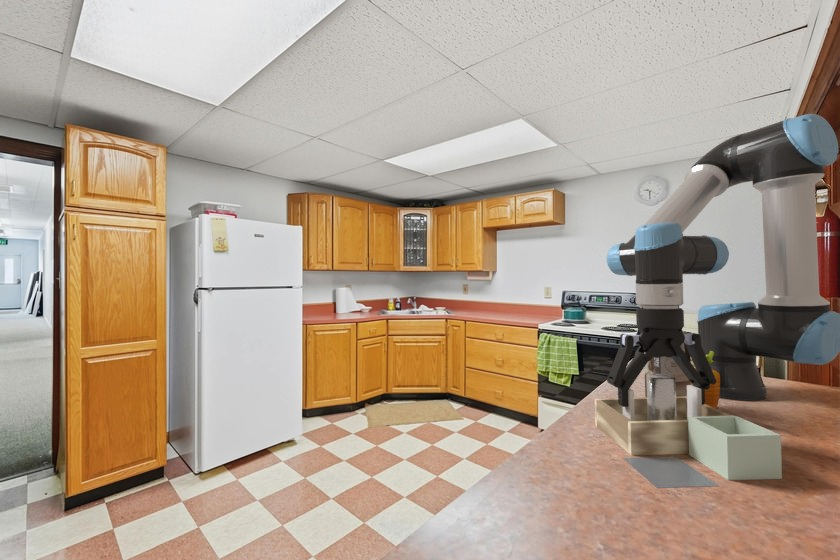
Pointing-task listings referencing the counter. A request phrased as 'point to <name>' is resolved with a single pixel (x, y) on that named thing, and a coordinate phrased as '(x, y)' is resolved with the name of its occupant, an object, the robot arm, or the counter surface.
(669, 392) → the tin can
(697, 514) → the counter surface
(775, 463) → the square storage bin
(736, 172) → the robot arm
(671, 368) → the coffee box
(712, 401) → the carrot
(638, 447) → the crate
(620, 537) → the counter surface
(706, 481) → the coaster
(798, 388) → the counter surface
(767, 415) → the counter surface
